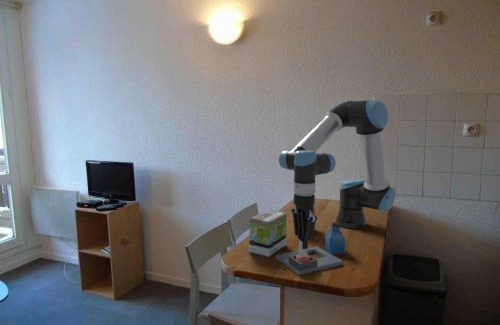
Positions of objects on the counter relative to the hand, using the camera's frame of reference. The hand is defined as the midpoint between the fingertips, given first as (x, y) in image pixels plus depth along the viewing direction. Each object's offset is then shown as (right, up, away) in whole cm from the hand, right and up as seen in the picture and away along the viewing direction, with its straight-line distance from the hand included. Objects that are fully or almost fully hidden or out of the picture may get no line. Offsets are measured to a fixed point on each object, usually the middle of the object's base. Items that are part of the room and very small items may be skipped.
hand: (302, 256), depth 128 cm
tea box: (-12, -2, +19) cm, 23 cm away
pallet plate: (+3, -4, +7) cm, 8 cm away
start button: (0, -2, 0) cm, 2 cm away
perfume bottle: (+16, -3, +17) cm, 24 cm away
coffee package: (+7, +1, +40) cm, 41 cm away
